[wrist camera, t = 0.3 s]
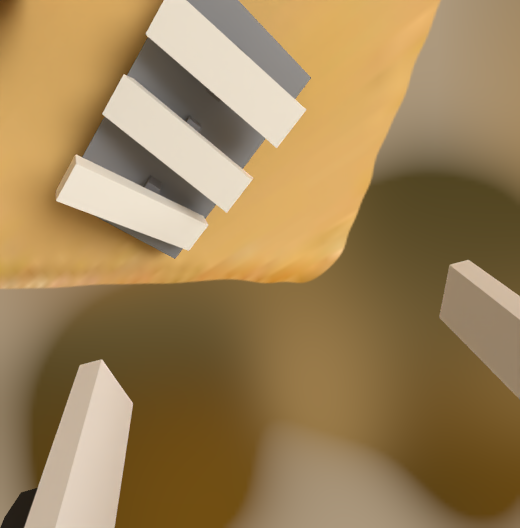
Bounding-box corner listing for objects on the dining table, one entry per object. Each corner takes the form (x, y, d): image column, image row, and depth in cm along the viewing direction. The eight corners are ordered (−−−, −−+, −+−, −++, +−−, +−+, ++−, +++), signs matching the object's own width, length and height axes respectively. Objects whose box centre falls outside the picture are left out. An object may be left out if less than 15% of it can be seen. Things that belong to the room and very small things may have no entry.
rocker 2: (112, 115, 26) (101, 114, 24) (133, 78, 25) (123, 74, 23) (229, 209, 28) (226, 212, 27) (253, 178, 27) (251, 180, 26)
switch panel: (73, 183, 33) (52, 205, 28) (193, -33, 26) (194, -56, 21) (176, 241, 38) (174, 268, 33) (298, 76, 31) (318, 78, 26)
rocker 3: (56, 190, 25) (55, 200, 24) (75, 154, 24) (76, 163, 23) (184, 241, 33) (188, 250, 32) (203, 216, 32) (208, 225, 31)
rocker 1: (153, 41, 24) (145, 34, 22) (178, -4, 23) (171, -14, 21) (277, 147, 26) (276, 147, 25) (304, 111, 25) (306, 109, 23)
